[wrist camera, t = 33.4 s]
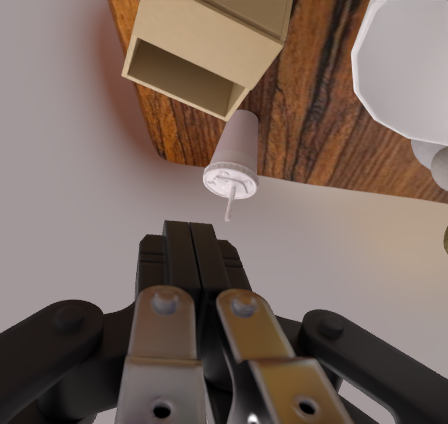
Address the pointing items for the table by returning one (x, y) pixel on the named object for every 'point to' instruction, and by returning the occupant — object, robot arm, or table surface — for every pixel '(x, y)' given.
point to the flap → (207, 38)
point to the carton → (197, 76)
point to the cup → (404, 67)
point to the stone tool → (446, 240)
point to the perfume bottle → (433, 160)
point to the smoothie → (235, 160)
